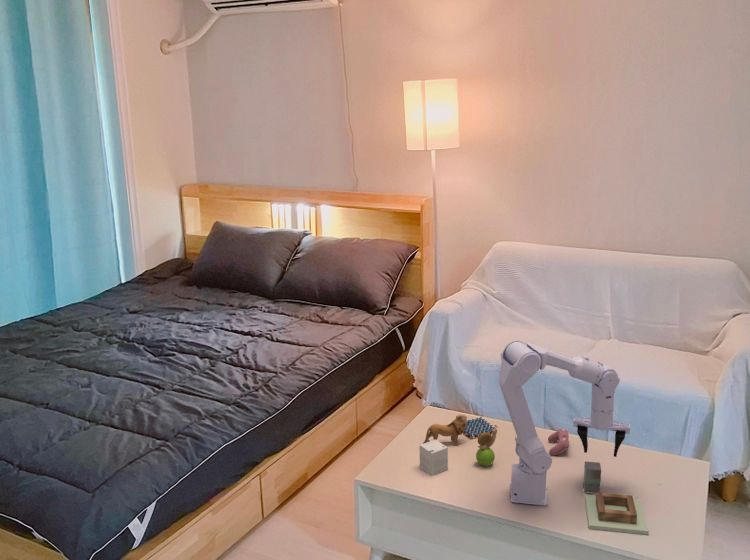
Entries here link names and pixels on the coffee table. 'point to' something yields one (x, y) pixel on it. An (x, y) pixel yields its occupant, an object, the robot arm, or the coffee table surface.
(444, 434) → the lion figurine
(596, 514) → the socket block
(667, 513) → the coffee table surface
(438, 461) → the skincare box
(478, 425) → the woven mat
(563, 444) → the video game controller
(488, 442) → the animal on green ball
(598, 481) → the grey brown rectangular block
